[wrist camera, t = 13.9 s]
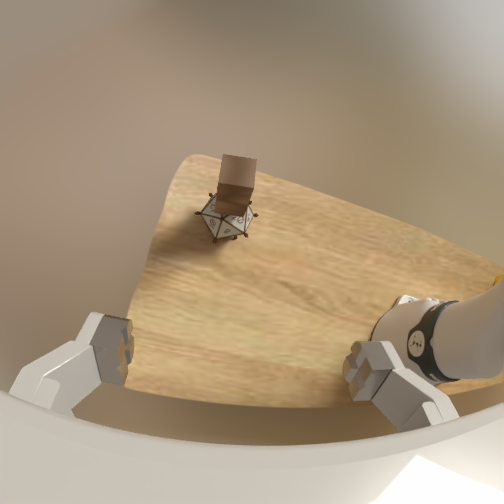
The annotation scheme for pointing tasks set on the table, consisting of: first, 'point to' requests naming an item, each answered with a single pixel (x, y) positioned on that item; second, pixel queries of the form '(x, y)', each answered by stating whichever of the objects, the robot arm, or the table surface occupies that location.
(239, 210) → the walnut block
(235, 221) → the game die
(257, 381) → the table surface
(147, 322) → the table surface
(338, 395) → the table surface
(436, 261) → the table surface
